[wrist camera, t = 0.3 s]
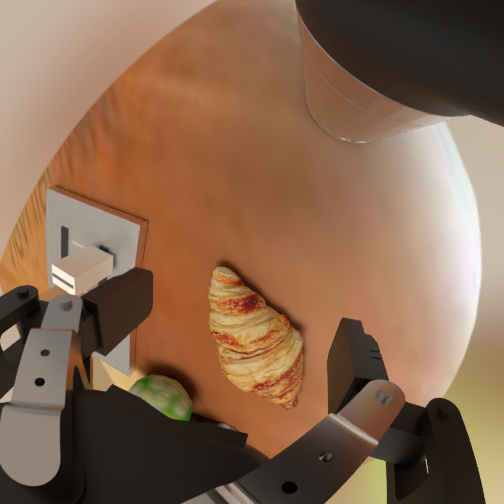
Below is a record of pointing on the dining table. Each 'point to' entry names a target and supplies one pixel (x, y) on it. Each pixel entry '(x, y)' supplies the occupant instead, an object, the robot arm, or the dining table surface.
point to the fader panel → (102, 237)
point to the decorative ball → (164, 396)
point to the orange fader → (52, 294)
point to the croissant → (254, 341)
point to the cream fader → (82, 269)
